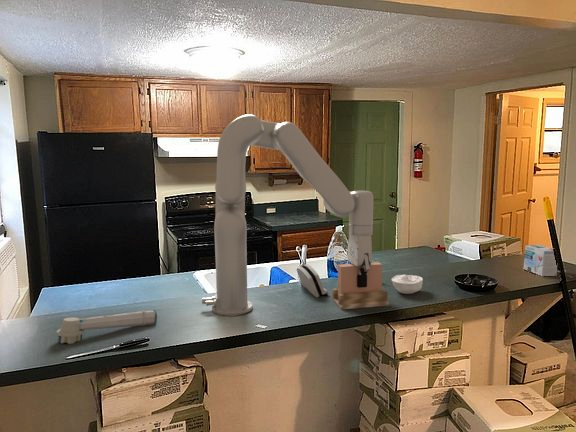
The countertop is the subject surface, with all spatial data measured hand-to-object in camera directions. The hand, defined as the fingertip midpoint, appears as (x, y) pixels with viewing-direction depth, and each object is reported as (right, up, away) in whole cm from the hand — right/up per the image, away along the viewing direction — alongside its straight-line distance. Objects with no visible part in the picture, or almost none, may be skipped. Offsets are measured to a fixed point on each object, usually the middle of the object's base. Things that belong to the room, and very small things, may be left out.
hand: (359, 284), depth 140 cm
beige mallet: (-72, -10, -22) cm, 76 cm away
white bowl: (+18, -5, +11) cm, 22 cm away
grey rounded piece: (-15, -4, +14) cm, 21 cm away
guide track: (0, -6, +1) cm, 6 cm away
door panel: (0, -3, 0) cm, 3 cm away
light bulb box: (+78, -1, +34) cm, 85 cm away
